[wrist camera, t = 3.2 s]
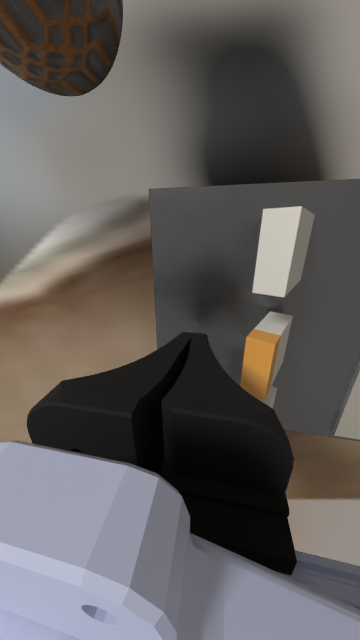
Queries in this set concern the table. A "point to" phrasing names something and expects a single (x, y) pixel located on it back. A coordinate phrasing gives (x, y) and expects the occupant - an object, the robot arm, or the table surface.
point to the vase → (60, 42)
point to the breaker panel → (251, 308)
